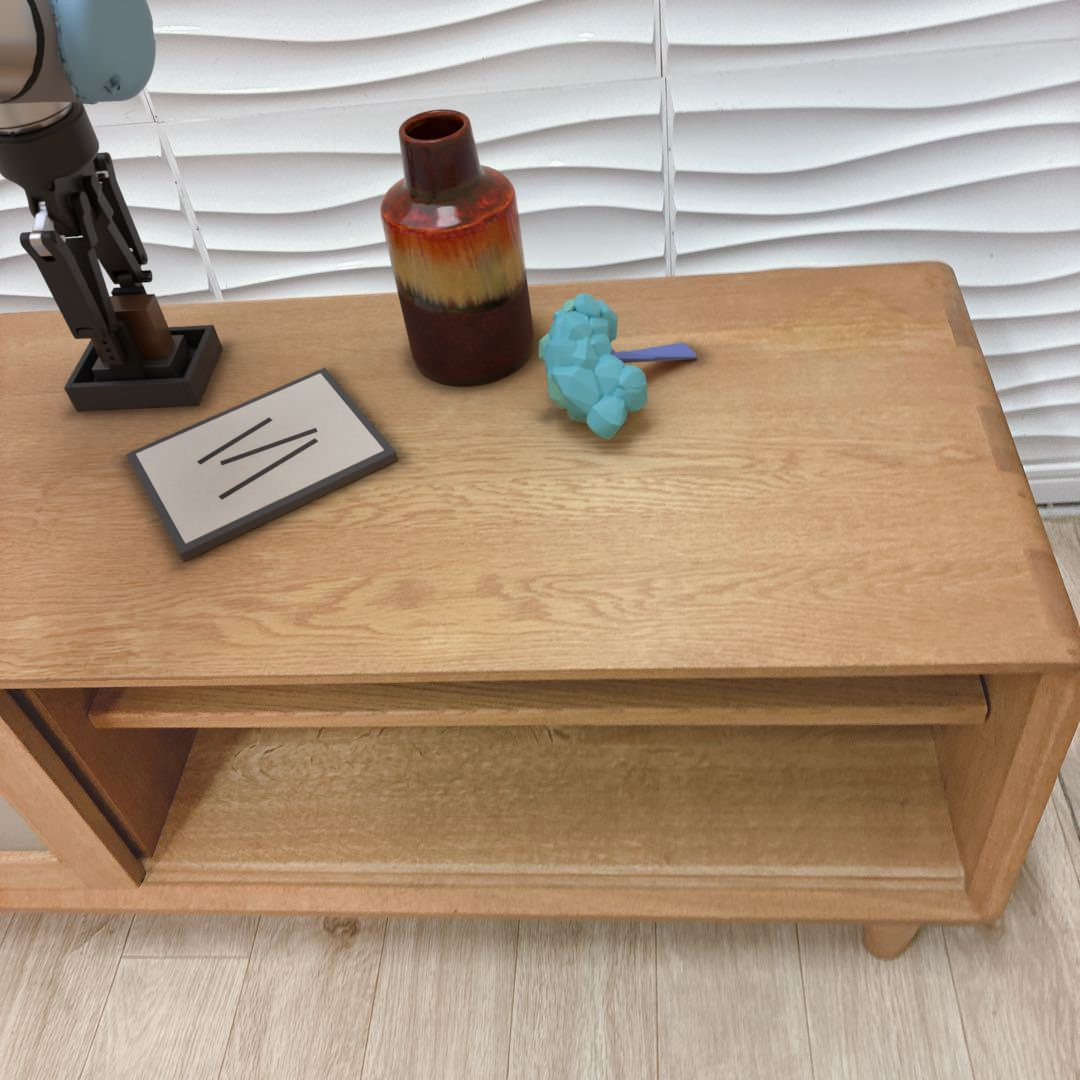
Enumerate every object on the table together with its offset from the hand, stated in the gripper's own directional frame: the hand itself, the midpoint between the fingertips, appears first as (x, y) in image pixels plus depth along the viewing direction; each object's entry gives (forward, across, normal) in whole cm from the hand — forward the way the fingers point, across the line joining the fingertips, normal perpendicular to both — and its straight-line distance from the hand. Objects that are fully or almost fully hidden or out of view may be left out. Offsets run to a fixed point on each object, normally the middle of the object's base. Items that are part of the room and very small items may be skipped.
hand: (145, 368), depth 95 cm
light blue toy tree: (+1, -6, -41) cm, 42 cm away
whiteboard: (+1, -12, -13) cm, 17 cm away
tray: (+1, 0, 0) cm, 1 cm away
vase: (+1, +2, -29) cm, 29 cm away
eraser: (0, 0, 0) cm, 0 cm away
